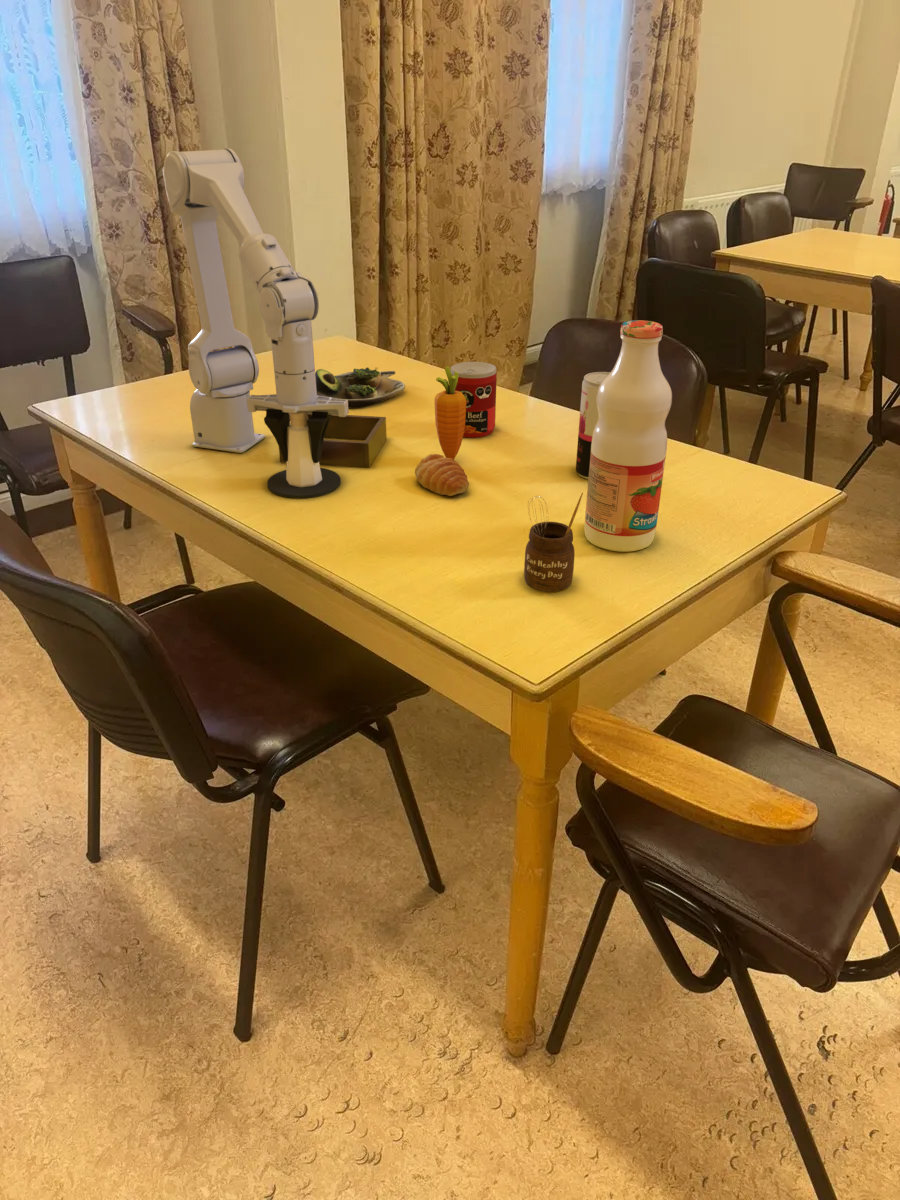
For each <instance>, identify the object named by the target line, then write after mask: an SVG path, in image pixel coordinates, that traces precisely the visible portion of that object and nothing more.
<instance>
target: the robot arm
mask: <svg viewBox="0 0 900 1200" xmlns="http://www.w3.org/2000/svg"><path fill="white" fill-rule="evenodd" d="M162 176H163V181H164V187H165V191H166V196H167V201H168V205H169V209H170V212H171V213H172V214H173V215H176V216H178V217H179V218H180V222H181V223H180V224H181V227H182V233H183V238H184V243H185V249H186V254H187V260H188V265H189V270H190V276H191V279H192V285H193V290H194V296H195V301H196V305H197V311H198V316H199V320H200V326H201V329H200V331H199V332H198V334H197V335H196V336H194V338H193V339H192V340H191V341H190V342H189V344H188V345H187V352H188V373H189V378H190V381H191V383H192V385H193V387H194V388H195V389H196V390H194V392H193V393H192V395H191V398H190V401H189V402H190V403H189V411H190V418H191V423H192V424H191V425H192V432H193V438H194V442H192V447H196V448H201V449H209V450H217V451H224V452H231V453H239V454H242V453H245V452H246V451H247V450H249V449H250V448H252V447H253V446H255V445H256V444H258V443H259V442H261V441H262V440H263V439H265V438H266V435H265V434H263V433H256V432H255V427H254V417H253V413H256V412H257V411H258V412H265V416H264V417H263V421H264V422H263V423H264V425H266V427H267V428H268V430H269V431H270V432H271V434H272V437H273V438H274V439H275V442H276V443H277V445H278V449H279V448H280V451H281V453H282V456H283V460H284V461H288V452H287V427H288V426H290V425H291V424H290V423H291V421H290V415H289V413H296V412H297V411H305V412H306V413H310V414H312V416H311V417H310V418H309V419H308V420H307V424H308V428H309V432H310V438H311V446H312V460H313V462H314V463H318V462H319V461H320V459H321V452H322V445H323V441H324V439H325V438H324V437H325V433H326V430H327V427H328V425H329V422H330V420H331V417H332V415H338V416H339V417H345V416H346V415H349V408H348V400H342V399H335V398H330V397H324V396H319V395H317V390H316V377H315V373H316V365H315V364H316V363H315V352H314V351H315V350H314V339H313V325H312V321H315V319H316V318H317V317H318V314H319V310H320V303H319V296H318V292H317V290H316V288H315V285H314V283H313V281H312V280H311V278H309V277H307V276H305V275H302V273H301V271H295V270H294V268H293V266H292V264H291V262H290V261H289V259H288V257H287V256H286V253H285V252H284V251H283V248H282V247H281V246H280V244H279V242H278V240H277V239H276V237H275V236H274V235H272V234H269V233H266V232H265V233H264V231H263V229H262V227H261V225H260V223H259V220H258V219H257V217H256V215H255V212H254V210H253V208H252V205H251V204H250V202H249V200H248V198H247V195H246V192H245V172H244V167H243V165H242V162H241V160H240V158H239V156H238V154H237V153H236V152H235V151H234V150H233V149H232V148H229V147H225V148H224V147H223V148H222V149H209V150H208V149H207V150H188V151H187V150H185V151H177V150H170V151H169V152H168V153H167V155H166V157H165V159H164V163H163V167H162ZM219 216H220V218H221V220H223V222H224V224H225V225H226V226H227V228H228V229H229V230H230V232H231V233H232V235H233V236H234V237H235V239H236V241H237V242H238V243H239V245H240V248H239V252H238V258H239V261H240V262H241V264H242V266H243V267H244V269H245V271H246V273H247V275H248V276H249V278H250V280H251V282H252V283H253V285H254V287H255V289H256V290H257V292H258V293H259V301H258V307H259V311H260V314H261V317H262V319H263V321H264V325H265V333H266V335H267V337H268V338H269V339H270V342H271V353H272V364H273V372H274V373H273V374H274V383H275V393H274V394H251V392H250V391H253V390H254V384H255V383H256V382H257V381H258V377H259V374H260V366H259V361H258V358H257V356H256V353H255V351H254V348H253V345H252V341H251V338H250V337H249V336H247V334H245V333H244V332H242V331H240V330H238V329H236V327H235V324H234V318H233V312H232V307H231V300H230V296H229V289H228V285H227V284H228V283H227V279H226V273H225V268H224V261H223V257H222V250H221V245H220V239H219V233H218V227H217V223H216V222H217V219H218V217H219Z"/></svg>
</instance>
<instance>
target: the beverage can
mask: <svg viewBox="0 0 900 1200" xmlns="http://www.w3.org/2000/svg"><path fill="white" fill-rule="evenodd" d="M610 372H611V371H609V372H607V371H595V372H589V373H587V374H585V375H584V376H583V380H582V382H581V383H582V384H581V395H580V408H579V422H578V434H577V446H576V447H577V449H576V461H575V472H576V473H577V474H578V475H579V476H580V477H581V478H583V479H585V480H588V479H589V468H590V456H591V444H592V437H593V432H594V428H595V426H596V424H597V422H598V420H599V413H598V408H597V393H598V389H599V386H600V384H601V383H602V381H603V380H604V379H605V378H606V376H607V375H608V374H609V373H610Z"/></svg>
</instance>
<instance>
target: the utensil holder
mask: <svg viewBox="0 0 900 1200" xmlns="http://www.w3.org/2000/svg"><path fill="white" fill-rule="evenodd" d="M583 495H584V492H581V493H580V496H579V498H578V500H577V503H576V506H575V508H574V511H573V513H572V515H571V518H570V521H569V524H568V525H567V524H565V523H562V522H558V521H548V517H546V520H545V521H542V519H543V518H542V517H540V520H541V521H540V522H537V521H538V518H537V517H538V516H533V518H534V521H535V524H534V523H533V522H532V517H531V515H528V516H529V521H530V523H531V525H532V526H531V527H530V529H529V533H528V542H527V544H526V546H525V550H524V565H523V566H524V567H523V577H524V581H525V584H526V585H527V586H528V587H530V588H531V589H532V590H535V591H538V592H542V593H559V592H562V591H564V590H566V589H568V588H569V587H570V586H571V584H572V581H573V579H574V578H573V577H574V569H575V568H574V567H575V555H576V554H575V546H574V544H573V541H574V534H573V529H572V527H573V526H572V525H573V523H574V520H575V518H576V516H577V513H578V510H579V506H580V504H581V501H582V498H583ZM540 498H541V499H542V500H543V501H544V505H545V507H548V504H547V501H546V500H545V498H544V497H543V496H542V495H534V496H532V497H531V499H529V500H528V501H527V504H528V507H530V505H531V507H532V509H534V506H533V504H531V503H530V502H533V500H536V499H538V500H539V501H538V505H539V506H541V508H539V510H540V511H539V513H542V514H543V516H545V513H544V512H542V510H544V509H543V504H542V502H541V500H540ZM541 509H542V510H541ZM545 510H546V513H548V512H549V510H548V508H545ZM534 511H535V513H534ZM534 511H532V513H533V515H535V514H537V511H536V509H534ZM527 512H528V514H531V510H530V508H527Z"/></svg>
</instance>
